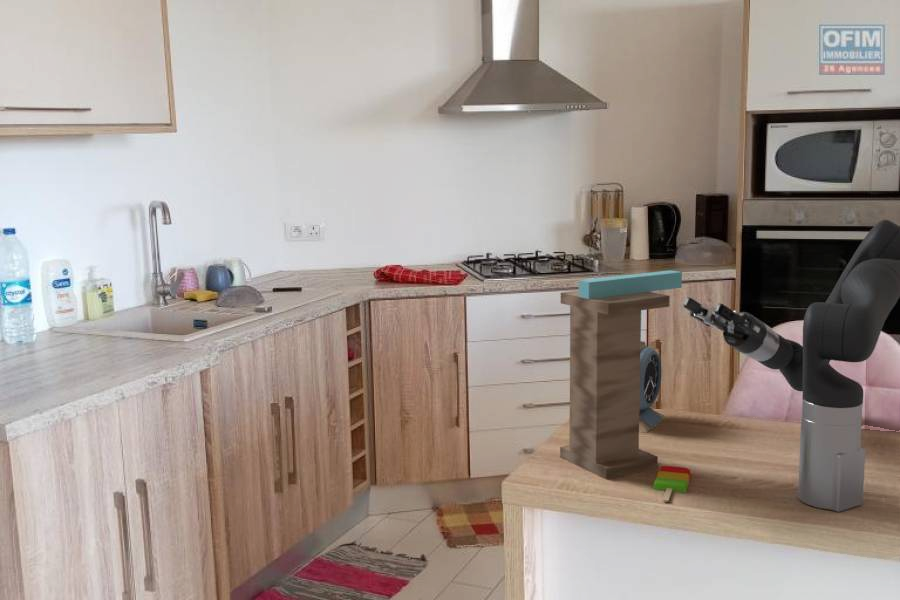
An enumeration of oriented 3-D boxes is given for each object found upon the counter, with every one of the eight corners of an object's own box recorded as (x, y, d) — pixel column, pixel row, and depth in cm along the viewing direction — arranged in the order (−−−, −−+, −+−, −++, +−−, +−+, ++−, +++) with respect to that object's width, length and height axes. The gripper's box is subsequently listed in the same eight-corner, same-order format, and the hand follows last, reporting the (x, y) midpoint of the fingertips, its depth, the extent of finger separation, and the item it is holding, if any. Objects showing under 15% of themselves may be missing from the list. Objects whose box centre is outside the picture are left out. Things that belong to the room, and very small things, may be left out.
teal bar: (681, 287, 177) (681, 272, 177) (588, 298, 167) (588, 282, 166) (670, 285, 180) (670, 270, 179) (578, 296, 169) (578, 280, 169)
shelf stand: (665, 464, 174) (669, 295, 169) (606, 479, 167) (608, 303, 162) (617, 444, 186) (619, 285, 181) (560, 456, 179) (560, 292, 174)
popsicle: (691, 477, 169) (691, 467, 169) (682, 507, 155) (682, 497, 155) (660, 473, 171) (660, 464, 171) (648, 503, 157) (648, 493, 157)
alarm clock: (645, 434, 192) (646, 350, 189) (600, 427, 197) (601, 345, 194) (667, 416, 204) (669, 337, 201) (625, 410, 209) (626, 333, 206)
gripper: (732, 315, 197) (683, 283, 189) (786, 326, 185) (736, 292, 177) (718, 347, 196) (668, 316, 188) (771, 360, 184) (720, 328, 176)
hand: (701, 304), depth 182 cm, fingers open, 8 cm apart
